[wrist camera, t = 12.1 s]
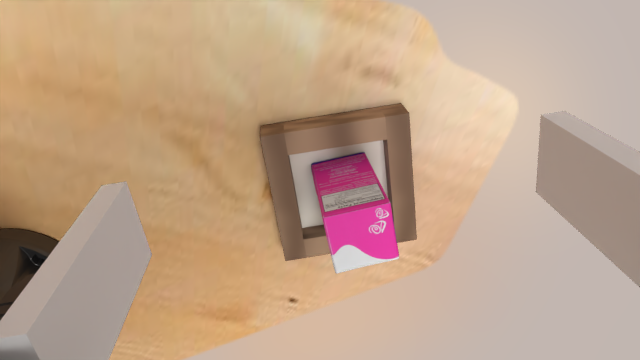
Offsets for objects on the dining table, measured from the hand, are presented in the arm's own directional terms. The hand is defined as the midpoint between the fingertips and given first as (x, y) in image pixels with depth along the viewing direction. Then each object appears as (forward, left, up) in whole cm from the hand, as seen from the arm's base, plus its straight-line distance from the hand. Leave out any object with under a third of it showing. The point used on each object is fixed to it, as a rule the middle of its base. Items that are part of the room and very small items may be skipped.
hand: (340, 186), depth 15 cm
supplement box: (+2, -15, -31) cm, 35 cm away
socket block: (+2, -15, -32) cm, 35 cm away
